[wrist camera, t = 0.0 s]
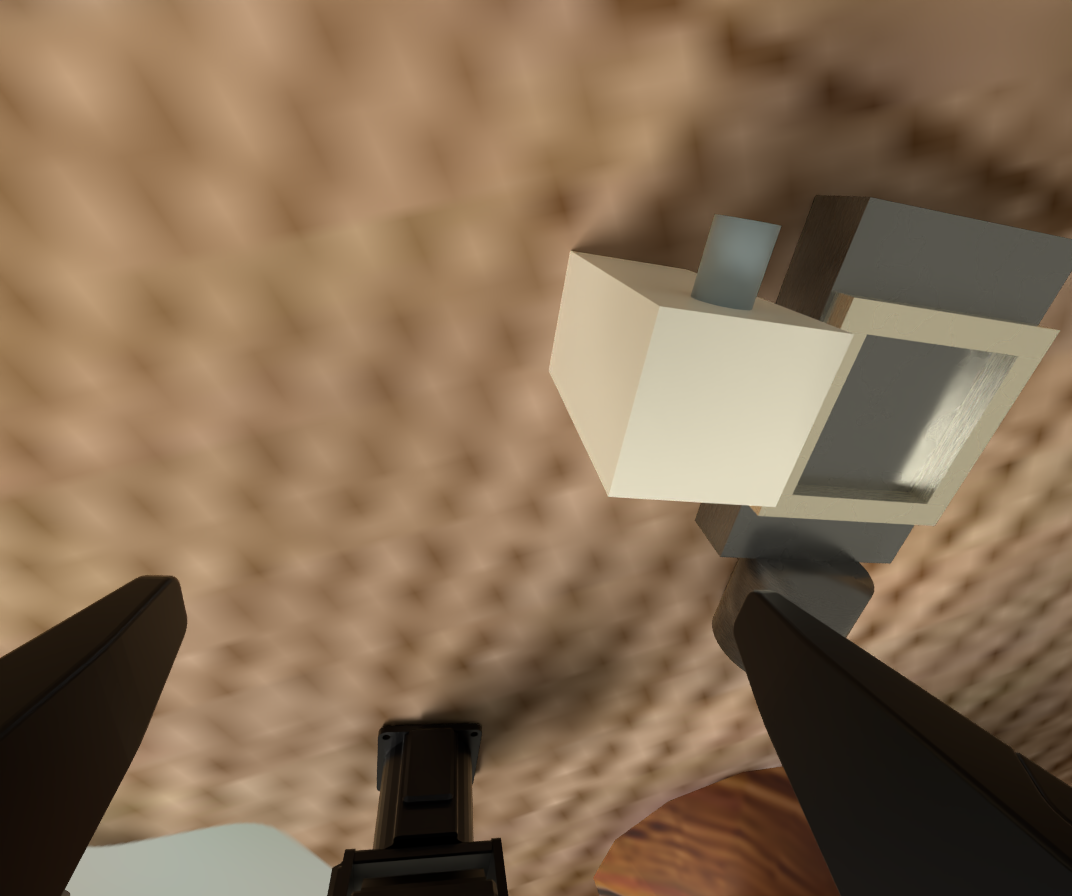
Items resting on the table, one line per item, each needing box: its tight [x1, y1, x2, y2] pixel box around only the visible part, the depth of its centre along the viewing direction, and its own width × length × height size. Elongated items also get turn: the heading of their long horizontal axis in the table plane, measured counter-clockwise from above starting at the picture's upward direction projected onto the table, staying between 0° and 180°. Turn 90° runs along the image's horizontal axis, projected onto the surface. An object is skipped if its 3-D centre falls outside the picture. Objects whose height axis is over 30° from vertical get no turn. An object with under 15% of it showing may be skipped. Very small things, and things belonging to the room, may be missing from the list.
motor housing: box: [695, 195, 1072, 672], centre depth 23 cm, size 22×10×6 cm, turn 171°
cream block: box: [549, 214, 854, 507], centre depth 16 cm, size 7×5×10 cm
